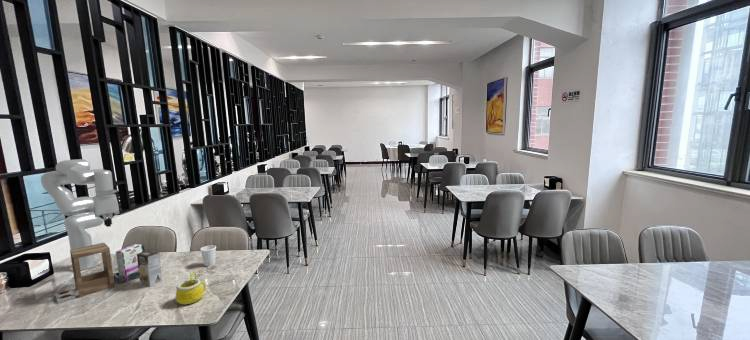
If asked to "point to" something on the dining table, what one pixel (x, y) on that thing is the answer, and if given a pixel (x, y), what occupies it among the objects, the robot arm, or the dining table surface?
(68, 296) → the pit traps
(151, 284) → the coffee box
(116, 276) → the slider
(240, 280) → the dining table surface
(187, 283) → the yellow potted plant
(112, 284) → the tunnel
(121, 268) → the candy bar box
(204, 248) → the dixie cup
